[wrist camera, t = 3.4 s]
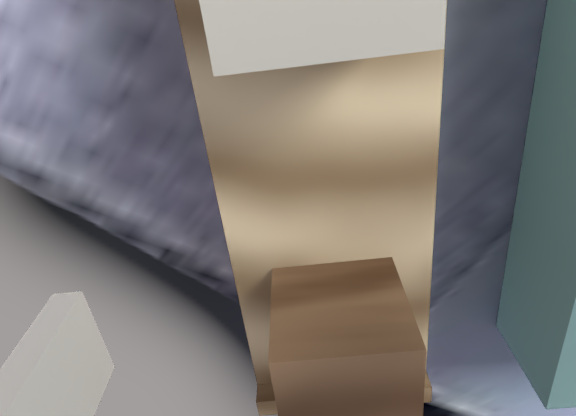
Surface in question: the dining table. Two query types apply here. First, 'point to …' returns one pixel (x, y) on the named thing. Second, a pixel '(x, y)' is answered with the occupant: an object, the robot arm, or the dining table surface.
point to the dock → (546, 223)
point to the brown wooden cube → (344, 341)
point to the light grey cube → (316, 31)
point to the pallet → (320, 171)
